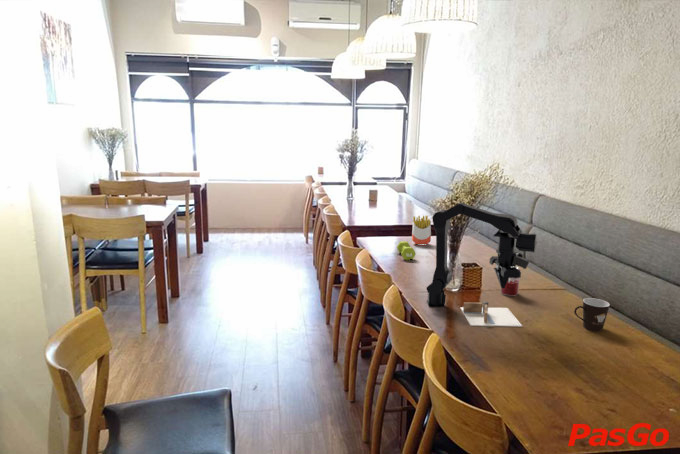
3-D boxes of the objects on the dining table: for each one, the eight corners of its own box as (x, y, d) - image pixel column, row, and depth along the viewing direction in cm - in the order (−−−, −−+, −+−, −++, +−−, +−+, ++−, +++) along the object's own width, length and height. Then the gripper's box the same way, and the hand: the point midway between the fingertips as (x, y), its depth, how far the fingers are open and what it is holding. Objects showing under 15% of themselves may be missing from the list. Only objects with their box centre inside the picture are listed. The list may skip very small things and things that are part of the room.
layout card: (470, 325, 173) (470, 324, 173) (460, 308, 189) (460, 306, 189) (522, 326, 172) (522, 325, 172) (507, 308, 189) (507, 307, 189)
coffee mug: (603, 324, 174) (607, 299, 172) (608, 334, 166) (612, 308, 164) (569, 320, 178) (572, 295, 176) (572, 329, 170) (575, 304, 168)
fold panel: (483, 313, 182) (484, 304, 182) (486, 313, 182) (487, 304, 181) (484, 322, 174) (484, 313, 173) (486, 322, 174) (487, 313, 173)
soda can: (519, 297, 202) (521, 270, 199) (501, 295, 203) (504, 269, 200) (516, 291, 209) (518, 265, 206) (499, 290, 210) (501, 264, 207)
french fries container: (430, 245, 286) (431, 216, 282) (412, 245, 286) (414, 216, 282) (429, 243, 291) (430, 215, 287) (411, 243, 291) (412, 215, 287)
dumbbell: (396, 252, 270) (396, 240, 269) (409, 252, 271) (410, 240, 269) (401, 261, 254) (401, 248, 253) (415, 260, 255) (416, 248, 253)
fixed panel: (464, 314, 183) (464, 302, 182) (462, 312, 185) (463, 301, 184) (488, 314, 183) (488, 303, 182) (486, 312, 185) (487, 301, 184)
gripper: (537, 255, 165) (533, 297, 169) (518, 242, 184) (515, 280, 187) (505, 255, 166) (502, 296, 169) (490, 242, 184) (487, 279, 187)
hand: (502, 288), depth 178 cm, fingers closed
